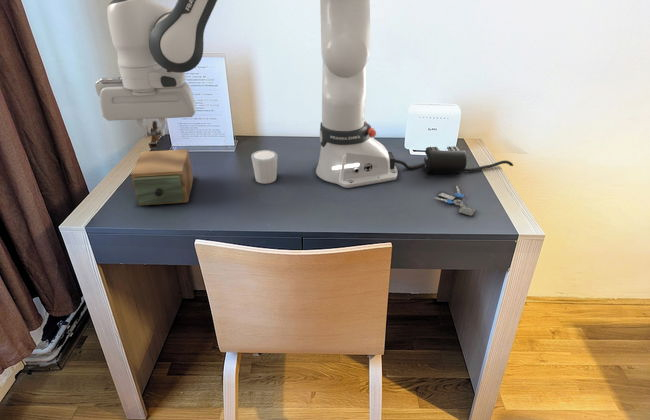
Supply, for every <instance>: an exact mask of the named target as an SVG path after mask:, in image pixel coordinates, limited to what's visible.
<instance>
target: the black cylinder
mask: <svg viewBox="0 0 650 420" xmlns="http://www.w3.org/2000/svg"><path fill="white" fill-rule="evenodd" d="M424 154H425V155H426V156H425V157H424V158H423V163H425V164H426V165H424V166H423V169H424V171H425V173H426V174H427V175H432V174H438V175H439V174H461V173H462V172H463V173H464V172H465V171H464V170H465V168H467V164H468V163H467V161H468V158H467V153H466V151H465V150H461V149H459V148H458V146H447V147H446V150H441V149H439V147H438V146H427V147H426V148H425V151H424Z"/></svg>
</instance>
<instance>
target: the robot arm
mask: <svg viewBox="0 0 650 420" xmlns="http://www.w3.org/2000/svg"><path fill="white" fill-rule="evenodd" d="M217 2H218V0H177V1H176V4H175V5H174V7H173V8H170V7H166V6H164V5H162V4H159V3H157V2H156V1H153V0H111V1H110V3H109V4H108V5H107V10H106V13H107V14H106V15H107V24H108V29H109V33H110V38H111V42H112V45H113V47H114V49H115V51H116V53H117V66H118V71H119V75H120V76H119V77H101V78H100V79H98V80H97V81H96V82H95V84H94V86H95V87H94V88H95V91H96V94H97V96H98V97H99V105H100V109H101V114H102V117H103V118H104V119H105V120H106V121H108V122H111V121H134V120H136V123H137V125H138V126H139V127H140V128H141V129H142V130H143V131H144V135H145V137H146V138H148V137H151V138H152V136H151V135H152V130H153V126H150V127H149V126H148V125H147V124H146V122H145V121H146V120H154V119H155V120H156V119H158V122H159V123H161V125H160V126H157V129H156V131H157V136H160V137H164V136H165V135H166V130H165V126H166V123H167V122H168V119H179V118H193V116H194V115H195V114H196V111H197V106H196V101H195V98H194V94H193V91H192V88H191V86H190V85H189V83H187V82H186V73H187V72H190V71H192V70H193V69H195V68H196V67H198V65H199V64H200V63H201V60H202V58H203V54H204V36H205V35H204V34H205V30H206V27H207V24H208V22H209V19H210V18H211V15H212V13H213V11H214V9H215V7H216V4H217ZM319 5H320V6H319V9H320V11H319V12H320V50H321V59H322V72H321V73H322V75H321V76H322V78H321V79H322V80H321V81H322V83H321V122H320V124H319V125H320V126H319V142H320V151H319V157H318V162H317V166H316V169H315V173H316V176H318V178H320V179H321V180H323V181H325V182H327V183H332V184H336V185H338V186H340V187H342V188H345V189H351V188H355V187H356V188H357V187H361V186H362V187H363V186H368V185H374V184H379V183H385V182H390V181H395V180H396V179H397V178H398V168H397V166H396V165H395V164H399V165H402V166H403V167H404V168H405V169H407V170H416V169H420V168H424V165H426V164H425V162H423V163H419V164H417V165H408V164H407V163H406V162H405V161H403V160H400V159H396V158H395V156H394V154H393V153H392V151H388V150H387V148H386V147H385V145H384V144H382V143H381V142H380V141H378V140H377V139H375V137H376V136H377V131H376V130H375V128H373V127H372V125H370V124H369V123H368V122H367V121H366V120H365V116H366V115H365V114H366V98H367V97H366V96H367V90H366V89H367V64H368V62H369V61H370V57H371V0H319ZM505 164H506V165H508V166H509V167H510V166H511V167H514V164H513V162H511V161H510V160H505V159H504V160H500V161H497V162H494V163H491V164H486V165H481V166H476V167H469V168H467V167H466V168H465V170H464V171H463V172H465V173H466V172H475V171H476V172H477V171H480V170H485V169H490V168H491V169H492V168H494V167H497V166H499V165H505Z"/></svg>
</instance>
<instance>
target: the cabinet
mask: <svg viewBox="0 0 650 420" xmlns="http://www.w3.org/2000/svg"><path fill="white" fill-rule="evenodd" d="M191 163H192V162H191V157H190V151H189V149H187V148H186V149H170V150H167V149H166V150H150V151H141V153H140V154H139V156H138V159H137V161H136V162H135V165H134V166H133V169H132V171H131V173H130V177H131V181H132V185H133V188H134V192H135V197H136V200H137V203H138V206H142V205H139V201H138V197H137V193H136V189H135V186H134V182H133V179H134V178H136V177H142V176H159V175H175V174H179V175H180V177H181V182H182V187H183V192H184V197H185V201H184V202H174V203H173V204H182V203H184V204H185V203H189V200H190V196H191V195H190V194H191V191H192V186H193V182H194V173H193V169H192V164H191ZM167 204H168V205H169V204H170V203H160V204H159V205H167ZM144 206H156V204H145V205H144Z"/></svg>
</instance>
